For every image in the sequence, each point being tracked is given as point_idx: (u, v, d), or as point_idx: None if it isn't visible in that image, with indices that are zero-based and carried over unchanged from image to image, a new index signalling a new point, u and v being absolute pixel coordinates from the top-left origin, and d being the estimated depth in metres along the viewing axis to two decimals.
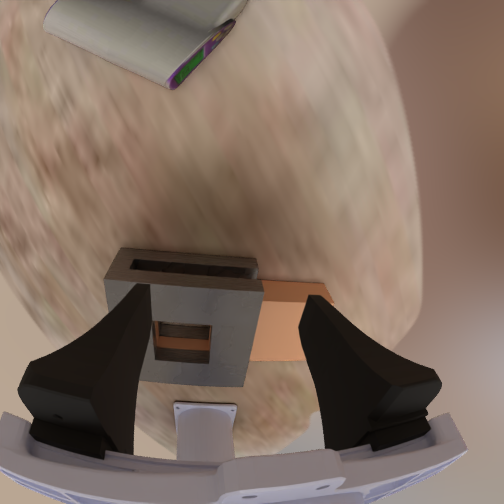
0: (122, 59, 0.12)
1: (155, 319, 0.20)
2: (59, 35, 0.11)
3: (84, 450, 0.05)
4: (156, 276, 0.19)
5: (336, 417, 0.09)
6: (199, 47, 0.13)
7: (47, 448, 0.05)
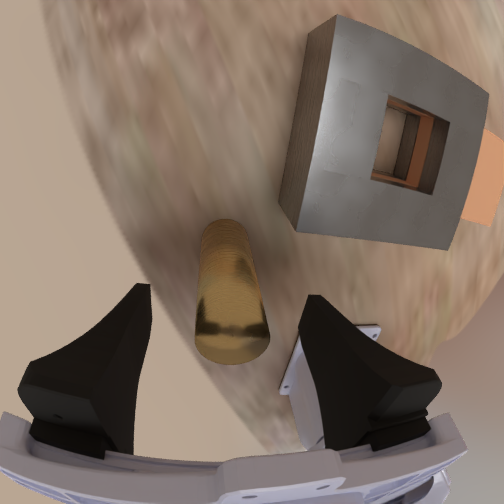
0: None
1: (394, 94, 0.11)
2: None
3: (84, 450, 0.05)
4: None
5: (336, 417, 0.09)
6: None
7: (47, 448, 0.05)
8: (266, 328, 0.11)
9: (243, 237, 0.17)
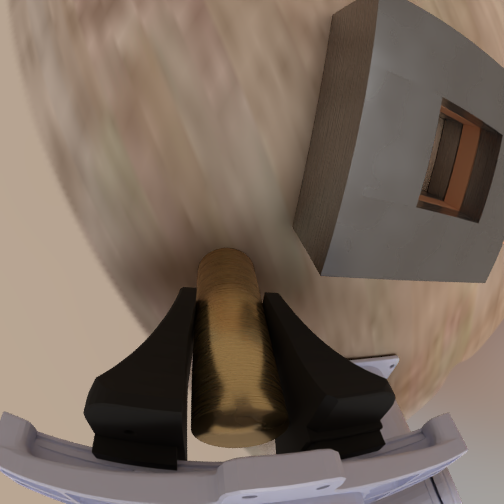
0: None
1: (448, 97, 0.08)
2: None
3: (158, 463, 0.06)
4: None
5: None
6: None
7: (110, 465, 0.05)
8: (285, 417, 0.08)
9: (250, 275, 0.13)
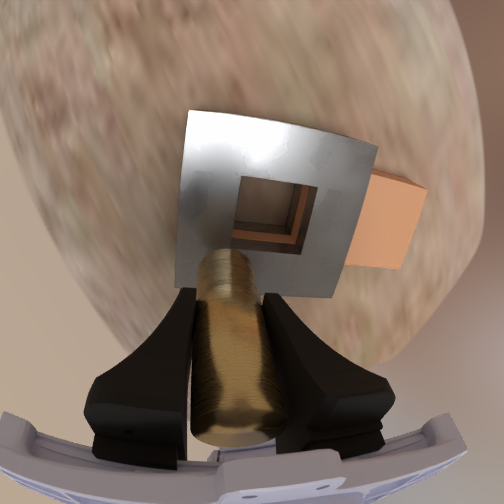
0: None
1: (247, 174, 0.16)
2: None
3: (158, 463, 0.06)
4: None
5: None
6: None
7: (110, 465, 0.05)
8: (284, 418, 0.08)
9: (250, 276, 0.14)
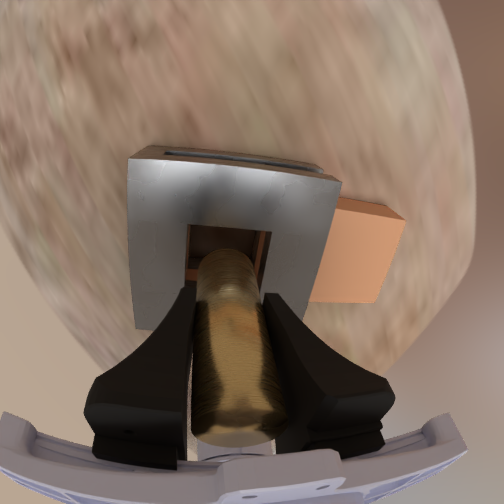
0: None
1: (193, 222, 0.15)
2: None
3: (158, 463, 0.06)
4: (201, 159, 0.14)
5: None
6: None
7: (110, 465, 0.05)
8: (285, 418, 0.08)
9: (251, 276, 0.14)
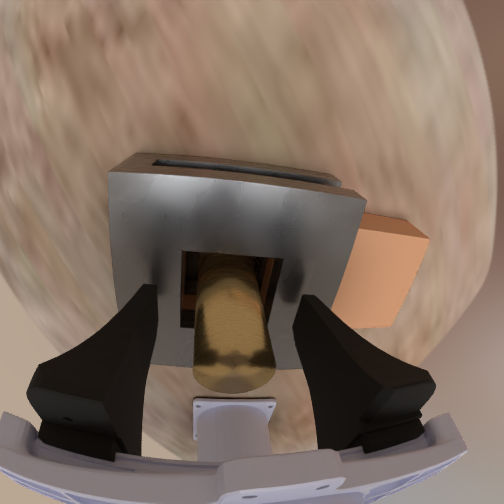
0: None
1: (189, 248, 0.12)
2: None
3: (94, 453, 0.05)
4: (198, 171, 0.12)
5: (329, 418, 0.09)
6: None
7: (56, 451, 0.05)
8: (273, 359, 0.10)
9: None
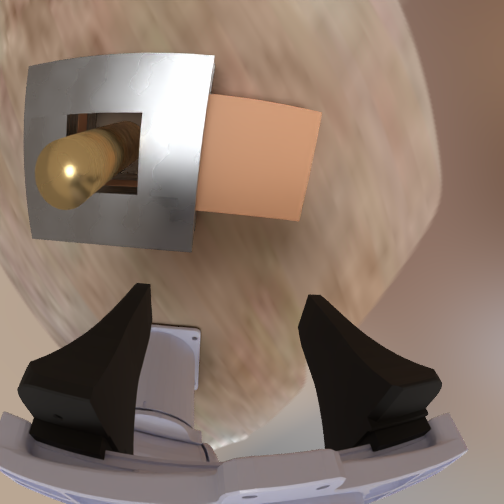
0: None
1: (72, 112, 0.12)
2: None
3: (84, 450, 0.05)
4: None
5: (336, 417, 0.09)
6: None
7: (47, 448, 0.05)
8: (89, 158, 0.09)
9: (131, 129, 0.15)
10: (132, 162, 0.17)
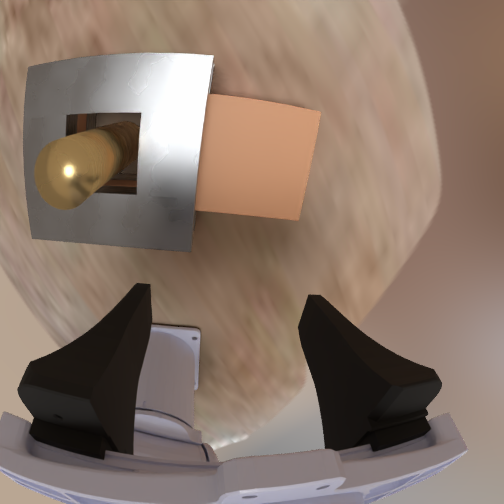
0: None
1: (71, 112, 0.12)
2: None
3: (84, 450, 0.05)
4: None
5: (336, 417, 0.09)
6: None
7: (47, 448, 0.05)
8: (88, 158, 0.09)
9: (130, 129, 0.15)
10: None
